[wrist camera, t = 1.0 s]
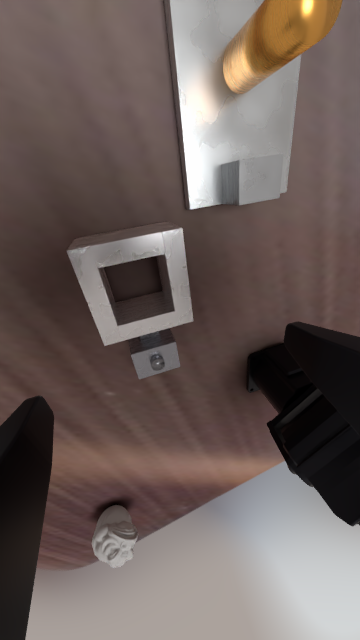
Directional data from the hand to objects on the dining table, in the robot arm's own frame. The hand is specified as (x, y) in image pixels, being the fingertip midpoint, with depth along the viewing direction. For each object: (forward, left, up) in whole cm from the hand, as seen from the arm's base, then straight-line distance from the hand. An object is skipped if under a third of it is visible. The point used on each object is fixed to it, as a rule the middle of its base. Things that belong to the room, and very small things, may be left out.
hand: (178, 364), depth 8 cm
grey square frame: (0, 0, -12) cm, 12 cm away
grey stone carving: (-36, +12, -12) cm, 40 cm away
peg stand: (+9, -9, -12) cm, 17 cm away
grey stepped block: (-7, 0, -12) cm, 14 cm away
